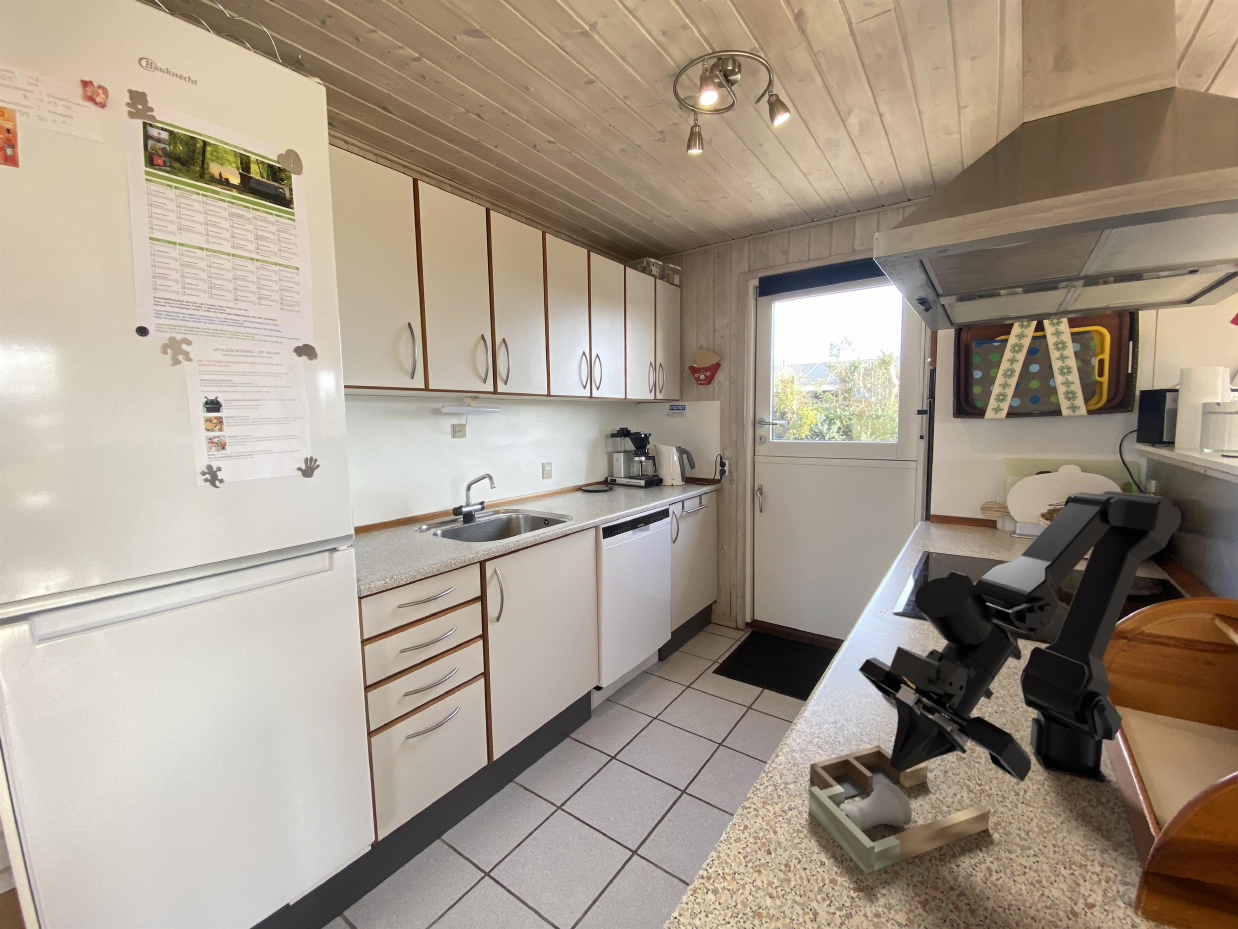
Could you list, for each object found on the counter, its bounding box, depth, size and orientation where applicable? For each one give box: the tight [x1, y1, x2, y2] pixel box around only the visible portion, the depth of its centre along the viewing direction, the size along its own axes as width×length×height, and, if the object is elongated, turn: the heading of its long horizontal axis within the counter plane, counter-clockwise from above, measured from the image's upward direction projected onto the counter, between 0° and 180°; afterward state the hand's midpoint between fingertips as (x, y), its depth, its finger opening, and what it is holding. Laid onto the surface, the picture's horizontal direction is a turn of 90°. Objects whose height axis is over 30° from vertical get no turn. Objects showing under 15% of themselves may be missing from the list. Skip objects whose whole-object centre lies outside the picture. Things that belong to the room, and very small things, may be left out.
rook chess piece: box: [839, 781, 913, 831], centre depth 59 cm, size 4×4×8 cm
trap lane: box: [808, 744, 990, 875], centre depth 62 cm, size 18×13×3 cm
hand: (894, 769), depth 59 cm, fingers closed
